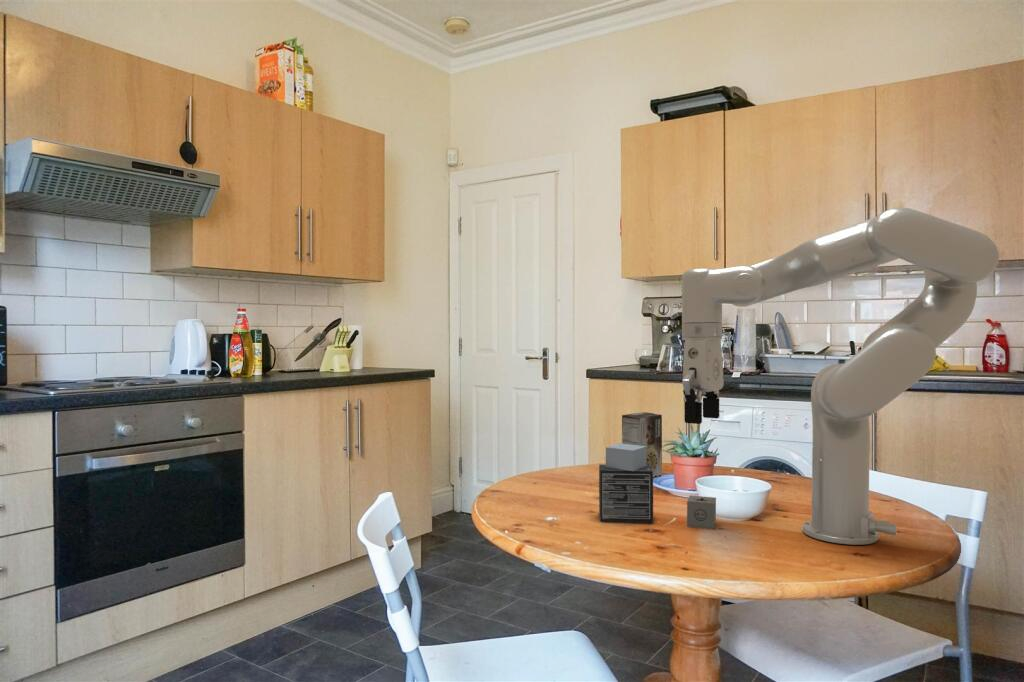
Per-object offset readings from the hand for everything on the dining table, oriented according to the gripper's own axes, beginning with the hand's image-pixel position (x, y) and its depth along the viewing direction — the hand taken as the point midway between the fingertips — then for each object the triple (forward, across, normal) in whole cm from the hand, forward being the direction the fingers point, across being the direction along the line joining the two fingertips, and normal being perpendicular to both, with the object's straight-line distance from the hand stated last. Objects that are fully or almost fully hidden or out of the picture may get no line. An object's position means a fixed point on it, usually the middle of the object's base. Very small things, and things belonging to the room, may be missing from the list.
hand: (702, 420), depth 132 cm
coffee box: (+20, +33, +28) cm, 48 cm away
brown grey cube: (+20, 0, 0) cm, 21 cm away
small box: (+20, -5, +14) cm, 25 cm away
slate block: (+10, -5, +14) cm, 18 cm away
